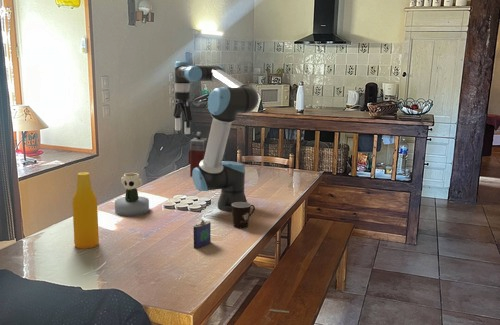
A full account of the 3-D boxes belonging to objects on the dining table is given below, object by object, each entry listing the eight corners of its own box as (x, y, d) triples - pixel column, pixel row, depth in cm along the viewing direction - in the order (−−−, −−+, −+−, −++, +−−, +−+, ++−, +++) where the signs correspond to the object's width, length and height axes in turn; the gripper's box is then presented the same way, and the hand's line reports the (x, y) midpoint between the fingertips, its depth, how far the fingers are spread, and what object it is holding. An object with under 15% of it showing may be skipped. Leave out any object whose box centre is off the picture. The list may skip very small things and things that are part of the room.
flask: (207, 241, 199) (207, 216, 197) (212, 242, 197) (213, 217, 195) (191, 247, 192) (191, 222, 190) (197, 249, 190) (197, 223, 188)
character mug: (118, 201, 232) (117, 175, 230) (125, 197, 239) (124, 172, 236) (138, 203, 230) (137, 177, 227) (145, 199, 236) (145, 173, 234)
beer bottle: (103, 241, 195) (100, 171, 189) (90, 250, 186) (86, 177, 180) (83, 239, 198) (80, 169, 191) (69, 247, 189) (65, 175, 183)
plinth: (153, 213, 232) (153, 203, 231) (119, 217, 225) (119, 207, 224) (143, 204, 246) (143, 194, 245) (111, 208, 238) (111, 198, 237)
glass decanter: (190, 173, 314) (190, 130, 308) (207, 174, 312) (207, 131, 306) (186, 176, 305) (186, 132, 299) (203, 177, 303) (204, 133, 297)
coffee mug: (233, 230, 213) (234, 208, 211) (229, 223, 221) (229, 202, 219) (259, 228, 216) (259, 206, 214) (253, 221, 224) (254, 201, 222)
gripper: (198, 93, 243) (198, 135, 247) (180, 89, 264) (180, 128, 268) (184, 93, 239) (184, 135, 244) (167, 89, 260) (167, 129, 265)
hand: (182, 132), depth 256 cm, fingers open, 13 cm apart
